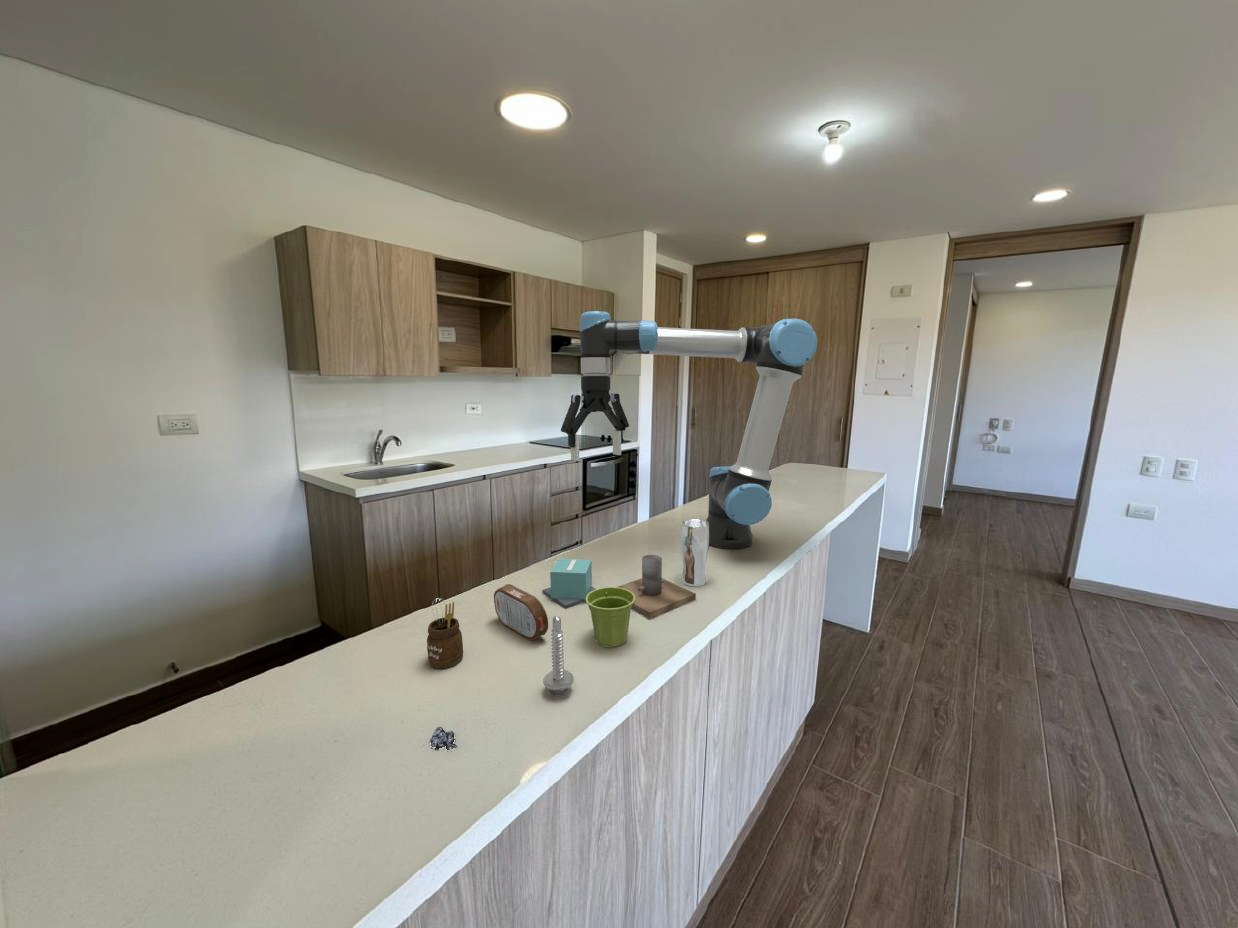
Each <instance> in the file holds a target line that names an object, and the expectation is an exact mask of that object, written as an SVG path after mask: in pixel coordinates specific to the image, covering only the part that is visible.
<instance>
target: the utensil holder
mask: <svg viewBox="0 0 1238 928" xmlns="http://www.w3.org/2000/svg"><path fill="white" fill-rule="evenodd" d="M441 600H442V601H443V603H444V605H445V606H444V608H445V609H444V610H445V611H444V614H443V612H441V615H442V616H441V617H439V615H438V613H439V612H438V609H437V607H435V609H436V616H437V618H436V616H435V614H434V612H432V615H433V618H434V620H433V621H430V623H429V624H428V626H427V627H428V628H427V637H426V651H427V658H428V659H427V661H428V663H429V666H431V667H432V668H434V667H435V669H440V668H442V669H447V667H448V668H451V666H452V667H453V666H454V667H455V665H458V664H459V663H460V662H461V661H462V659H463V657H464V646H463V645H464V643H463V634H462V631H461V629H460V622H459V620H458V619H457V618H455V617H454V616H455V601H452V603H451V602H449V603H448V604H446V602H445V600H444V599H442V598H441V597H438V598H437V599H434V600H433V602H432V604H431V610H432V611H434V607H433V606H434V605H433V604H434V602H437V601H439V603H440V607H441V609H443V606H442V601H441Z"/></svg>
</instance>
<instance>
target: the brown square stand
mask: <svg viewBox="0 0 1238 928" xmlns="http://www.w3.org/2000/svg"><path fill="white" fill-rule="evenodd" d="M662 562H663V558H662V557H661V556H660V555H658V554H646V555H643V556H642V557H641V578H638V579H636V580H633V581H630V582H627V583H625V584H621V585H619V586H617V587H619V588H624V589H627V590H629V591H631V592H632V593H633V594H634V595H635V601H634V603H633V605H632V608H631V611H632V610H633V611H634V612H636V613H638V614H640V615H642V616H643V617H644V618H647V619H648V620H652V619H654V618H656V617H658V616H660V615H663V614H667V613H668V612H670V611H672V610H675V609H677V608H679V607H682V606H684V605H687V604H690V603H691V602H693V601H696V600H697V597H696V596H697V594H696V592H693V591H691V590H689V589H686V588H684V587H683V586H680V585H678V584H677V583H673V582H671V581H669V580H667V579H665V578H664V577H662V570H663V568H662V567H663V563H662Z"/></svg>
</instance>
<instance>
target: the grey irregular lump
mask: <svg viewBox="0 0 1238 928" xmlns="http://www.w3.org/2000/svg"><path fill="white" fill-rule="evenodd" d="M443 729H444V728H443V727H442V726H437V727H436V728H435V730H434V731H435V732H434V731H433V733H432V735H431V736H432V738H431V737H430V739H429V743H430V742H431V746H432V747H436V748H437V749H436V750H438V749H439V748H442V747H445V746H446V749H447V750H450V749H453V748H456V747H457V748H458V746H457V744H456V743H455V744H453V742H454V740H455V741H456V738H455V739H454V734H455V732H454V731H453V730H449V731H446V730H445V729H444V730H445V731H444V730H443Z"/></svg>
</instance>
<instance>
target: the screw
mask: <svg viewBox="0 0 1238 928" xmlns="http://www.w3.org/2000/svg"><path fill="white" fill-rule="evenodd" d="M563 633H564V632H563V630H562V618H561V617H560V616H558V615H555V616H553V617H552V629H551V642H550V643H551V657H552V658H551V665H552V666H551V667H552V670H551V671H550V672H548V673H546V675H544V677H543V681H542V683H543V686H544V687H545V688H546V689H548V690H549V692H550V693H551V694H552V695H553V696H555V697H557V696H564V695H565V694H566V692H567V691H568V688H570V687H571V686H572V685H573V683H574V681H575V677H574V675H573V673H572V672H570V671H568V670H565V669H564V668H565V666H564V665H565V659H564V657H565V656H564V654H565V653H564V634H563Z"/></svg>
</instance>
